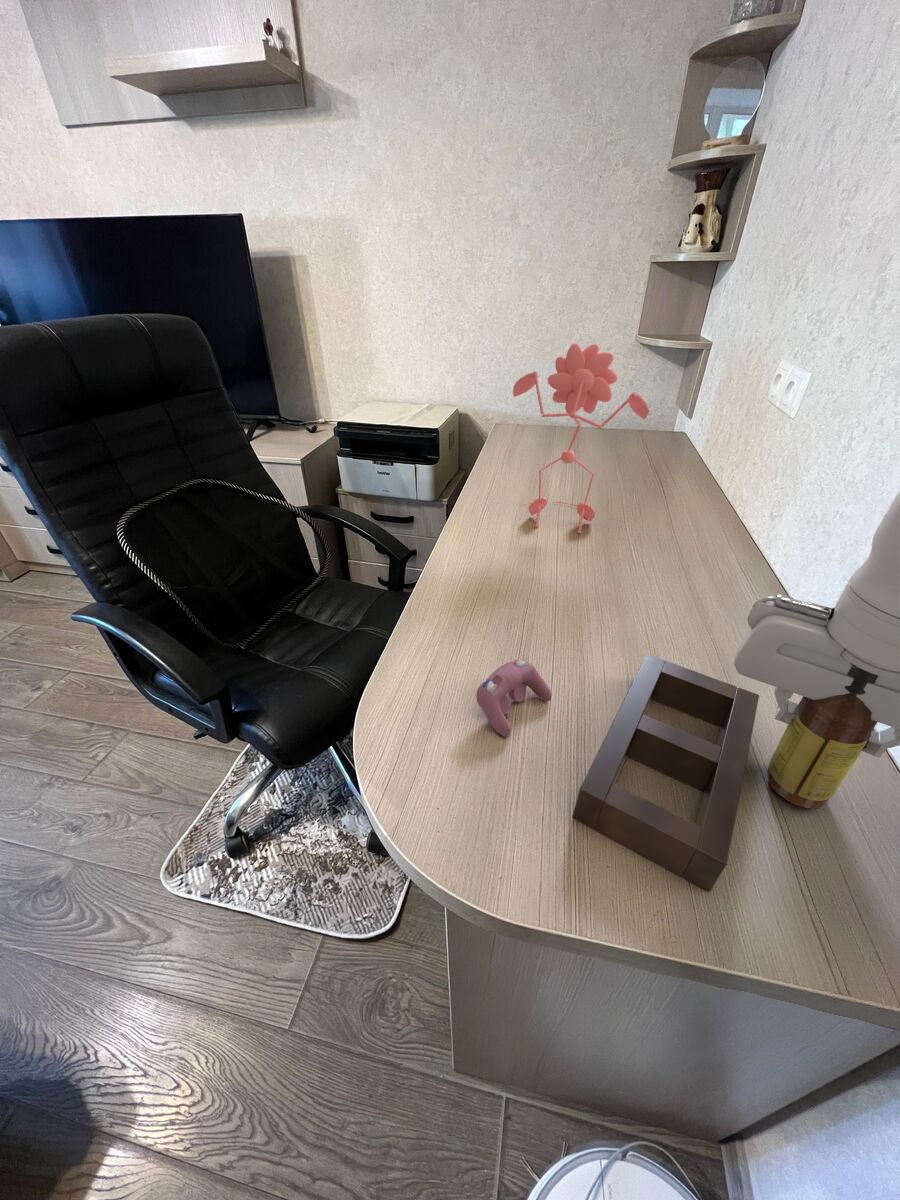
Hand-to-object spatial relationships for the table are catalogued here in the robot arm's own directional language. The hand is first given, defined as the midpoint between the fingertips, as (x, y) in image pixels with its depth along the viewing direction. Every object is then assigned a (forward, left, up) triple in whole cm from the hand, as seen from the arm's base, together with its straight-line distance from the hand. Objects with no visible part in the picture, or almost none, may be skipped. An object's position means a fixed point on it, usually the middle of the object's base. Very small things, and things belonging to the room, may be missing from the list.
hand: (824, 733), depth 51 cm
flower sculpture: (+48, -50, -9) cm, 70 cm away
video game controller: (+31, +7, -9) cm, 33 cm away
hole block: (+12, +5, -9) cm, 16 cm away
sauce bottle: (0, 0, -9) cm, 9 cm away
